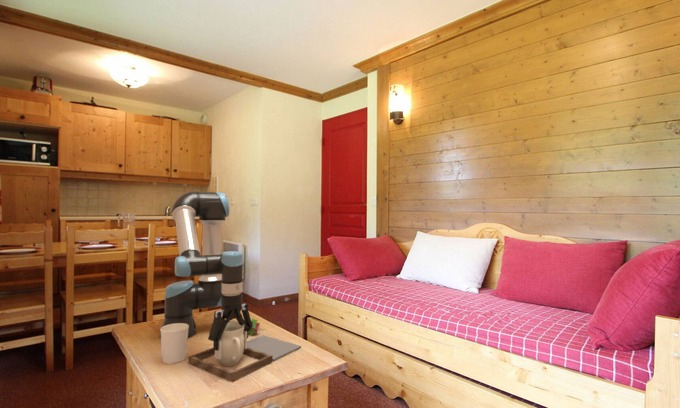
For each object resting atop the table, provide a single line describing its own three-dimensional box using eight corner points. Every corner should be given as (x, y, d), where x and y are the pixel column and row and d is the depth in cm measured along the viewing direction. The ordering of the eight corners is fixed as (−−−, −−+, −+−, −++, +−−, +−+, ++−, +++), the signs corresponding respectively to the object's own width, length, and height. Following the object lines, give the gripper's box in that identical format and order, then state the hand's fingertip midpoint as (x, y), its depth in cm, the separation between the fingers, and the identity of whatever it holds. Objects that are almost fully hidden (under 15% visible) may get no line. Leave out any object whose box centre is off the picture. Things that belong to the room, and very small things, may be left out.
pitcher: (223, 376, 121) (223, 335, 121) (208, 358, 136) (208, 321, 136) (253, 368, 128) (254, 329, 128) (236, 351, 142) (236, 317, 142)
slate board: (234, 348, 146) (234, 346, 146) (263, 336, 159) (263, 335, 159) (273, 361, 134) (273, 359, 134) (301, 348, 147) (301, 346, 147)
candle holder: (159, 366, 128) (160, 333, 128) (159, 356, 137) (160, 325, 137) (189, 361, 133) (190, 329, 133) (187, 352, 141) (187, 321, 142)
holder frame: (188, 363, 131) (188, 356, 131) (229, 347, 146) (229, 341, 146) (232, 381, 117) (232, 374, 118) (272, 362, 133) (272, 355, 133)
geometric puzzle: (258, 324, 169) (249, 313, 166) (266, 328, 164) (257, 316, 161) (247, 336, 165) (238, 325, 162) (255, 340, 160) (246, 328, 157)
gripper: (211, 301, 121) (210, 367, 120) (262, 289, 140) (261, 345, 140) (197, 298, 125) (197, 361, 124) (249, 286, 144) (248, 341, 144)
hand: (231, 353), depth 132 cm, fingers closed on pitcher, 11 cm apart
